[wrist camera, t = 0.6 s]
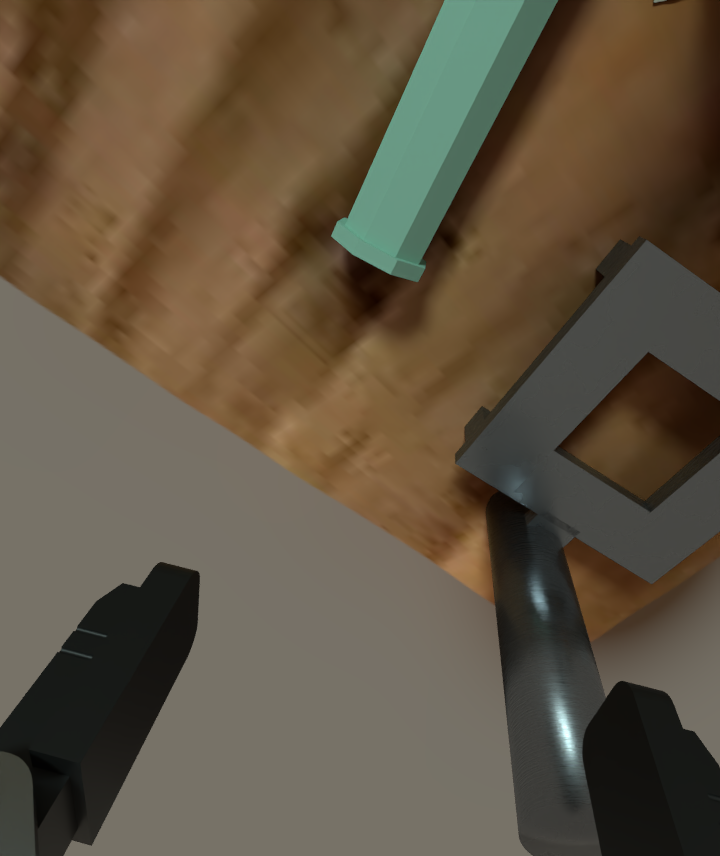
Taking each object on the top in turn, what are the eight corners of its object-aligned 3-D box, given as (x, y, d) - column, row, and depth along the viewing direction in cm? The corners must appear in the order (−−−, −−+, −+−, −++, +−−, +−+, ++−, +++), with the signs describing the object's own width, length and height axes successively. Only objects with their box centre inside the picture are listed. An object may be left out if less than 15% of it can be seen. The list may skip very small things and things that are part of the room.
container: (685, -507, 17) (341, 253, 28) (790, -343, 19) (435, 293, 30) (580, -390, 21) (322, 221, 33) (676, -272, 24) (405, 257, 35)
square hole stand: (620, 226, 31) (898, 362, 12) (824, 374, 33) (1340, 691, 14) (412, 480, 41) (380, 778, 22) (580, 581, 43) (687, 935, 24)
